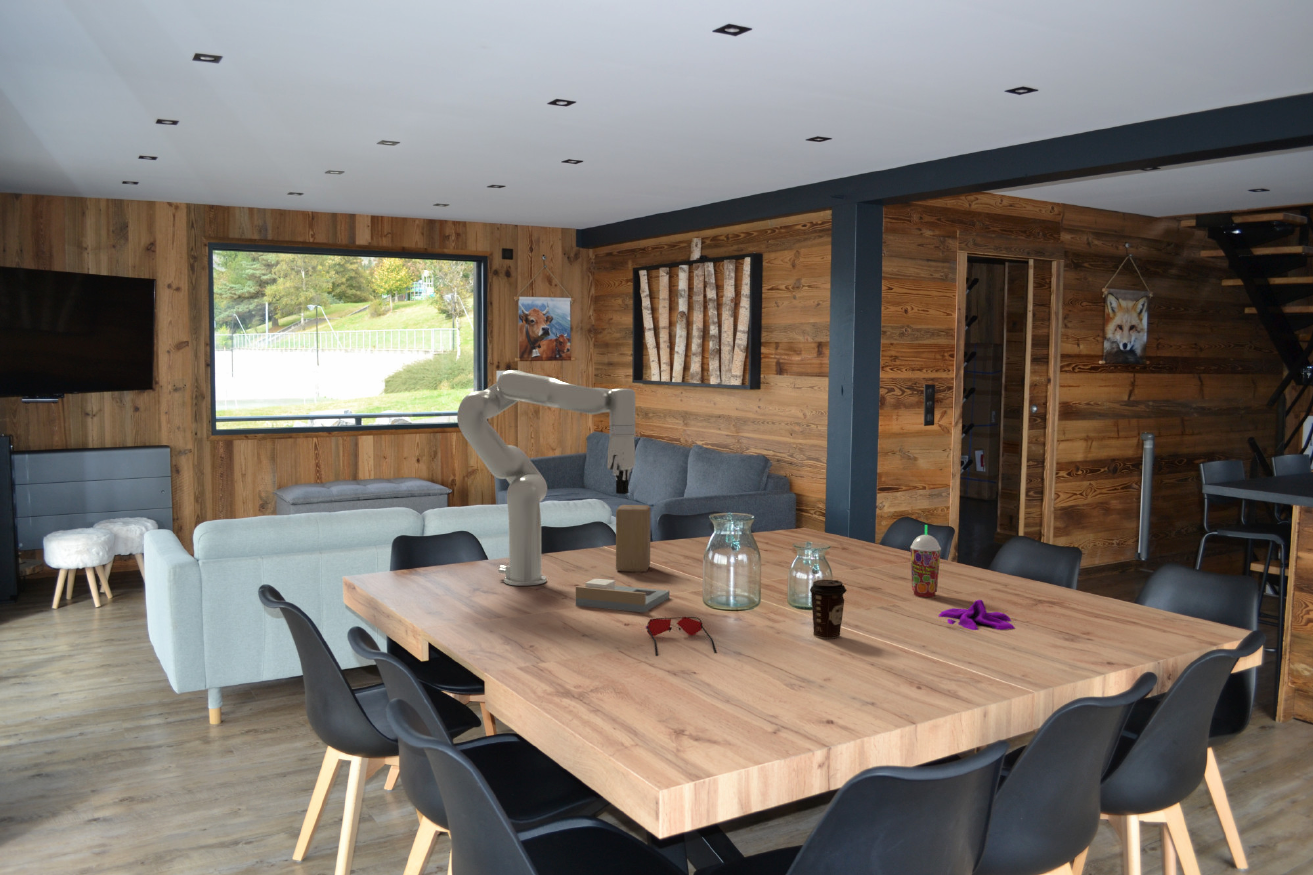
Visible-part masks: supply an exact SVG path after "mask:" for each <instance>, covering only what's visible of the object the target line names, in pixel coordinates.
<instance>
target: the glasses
mask: <svg viewBox="0 0 1313 875" xmlns="http://www.w3.org/2000/svg"><path fill="white" fill-rule="evenodd" d="M673 619H674V620H675V617H656V618H650V619H649V621H648V623H647V625H645V629H646V632H647V634H648V635H649V636H650V638H651V639H652V641H653V644H654V653H655V656H656V657H657V656H658V655H659V653H658V642H657V640H656V638H655V636H658V635H661V634H663V633H666V632H667V631H668V632H669V633H670V632H672V629H673V627H672V626H671V624H672V620H673ZM676 619H679V620H678V621H676V625H677V626H678V630H679V631H680V632H681V630H683V632H685V633H686V634H687V635H688V636H694V635H696V634H697V633H699V632H701V631H703V632H704V633H705V634H706V636H707V637H708V638H709V640H710V642H711V645H712V650H713V651H714V654H717V653H718V652H717V647H716V645H715V641H714V639H713V638H712V636H711V635H710V634H709V632H708V631H707V630H706V629H705V628H704V626H703V621H702V620H701V619H700V618H698V617H696V616H695V617H694V616H682V617H681V616H680V617H679V616H678V617H676ZM698 620H699V621H698Z"/></svg>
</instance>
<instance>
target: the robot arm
mask: <svg viewBox="0 0 1313 875" xmlns="http://www.w3.org/2000/svg"><path fill="white" fill-rule="evenodd" d="M518 402H525V403H528V404H529V403H530V404H536V405H539V406H544V407H549V408H555V409H556V408H557V409H563V410H568V411H570V412H575V413H581V414H586V415H587V414H588V415H597V414H598V415H599V414H602V413H609V440H608V446H607V448H608V449H607V469H608V470H609V471H612V475H614V477H615V493H616V494H618V495H620V494H621V495H626V494H628V493H629V479H630V473H631V472H632V469H633V468H634V467H635V465H636V464H635V463H636V446H635V437H636V391H634V389H633V388H614V389H610V388H603V387H588V386H583V385H576V384H572V383H568V382H563V381H561V380H559V379H558V378H555V377H552V376H551V377H550V376H545V375H539V374H535V373H534V374H533V373H529V372H525V371H522V370H517V369H516V370H515V369H513V370H512V369H510V370H509V369H508V370H506V371H504V372H502V373H501V374H500V375H499V376H498V378H497V382H495V383H494V384H492V385H491V386H489V387H488V388H486V389H484V390H476V391H472V392H469V393H468V394H467V395H465V397H463V399H462V400H461V402H460V404H459V406H458V409H457V414H456V415H457V416H456V417H457V425H458V428H459V430H460V432H461V434H462V436H463V438H465V440H466V442H467V443H468V444H469V445H470V446H471V448H472V449H473V450H474V451H475V453H476V456H478V457H479V459H480V460H481V461H482V463H483V464H484V465H485V466H486V468H487V469H488V471H489V473H491V474H492V476H494V477H495V478H497V479H500V480H506V481H507V482H508V484H509V485H508V488H507V491H506V505H507V512H508V513H507V514H508V515H507V516H508V561H509V562H508V565H507V566H506V565H500V566H499V567H498V573H499V574H505V576H504V578H503V582H504V584H506V585H509V586H521V587H523V586H524V587H525V586H527V587H528V586H537V585H542V584H545V583H546V582H547V576H546V575H543V574H542V517H541V516H542V515H541V514H542V513H541V507H540V506H541V504H540V503H541V502H542V501H543V500H544V499H545V497H546V495H547V493H548V484H547V481H546V479H545V478H544V477H543V475H542V473H541V472H540V471H539V470H538V468H537V467H536V466H535V465H534V464H533V462H532V461H531V460H530V458H529V457H528V455H527V454H526V453H525V452H524V451H523V450H522V449H521V448H520V447H517V446H515V445H511V444H509V445H508V444H507V443H506V442H505V441H504V440H503V438H502V437H501V436H500V435H499V433H498V432H497V431H496V429H494V427H493V426H492V425H491V424H490V423H489V422H488V419H492V418H494V417H496V416H498V415H499V414H501V413H502V412H504V411H505V410H507V409H508V408H510V407H512V406H513V405H515V404H517V403H518Z"/></svg>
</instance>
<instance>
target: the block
mask: <svg viewBox="0 0 1313 875" xmlns="http://www.w3.org/2000/svg"><path fill="white" fill-rule="evenodd" d="M651 512H652V511H651V507H650V505H648V504H645V505H644V504H621V505H619V507H618V508H617V509H616V511H615V570H616V571H617V572H625V573H626V572H628V573H631V572H632V573H646V572H647V571H648V570H649V568H650V565H651Z"/></svg>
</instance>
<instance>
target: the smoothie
mask: <svg viewBox="0 0 1313 875" xmlns="http://www.w3.org/2000/svg"><path fill="white" fill-rule="evenodd" d="M909 548H910V565H911V567H910V568H911V570H910V572H911V590H912V591H913V594H914V595H913V596H916V597H919V598H933V597H935V595H936V593H937V591H938V584H939V572H940V562H941V550H942V548H941V546H940V543H939V541H938V540H937V538H935V537H933V536H932V535H930V534H928V524H924V534H921V535H918V536H917V537H915V539H914V540H913V542H912V544H911V545H910V547H909Z"/></svg>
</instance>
